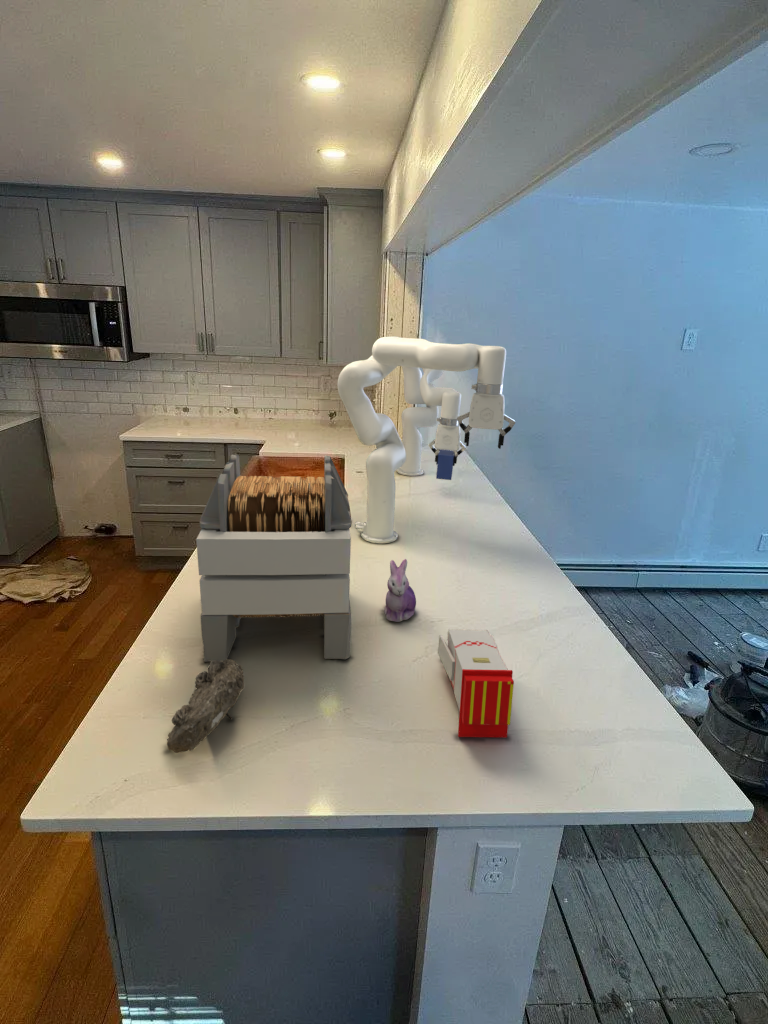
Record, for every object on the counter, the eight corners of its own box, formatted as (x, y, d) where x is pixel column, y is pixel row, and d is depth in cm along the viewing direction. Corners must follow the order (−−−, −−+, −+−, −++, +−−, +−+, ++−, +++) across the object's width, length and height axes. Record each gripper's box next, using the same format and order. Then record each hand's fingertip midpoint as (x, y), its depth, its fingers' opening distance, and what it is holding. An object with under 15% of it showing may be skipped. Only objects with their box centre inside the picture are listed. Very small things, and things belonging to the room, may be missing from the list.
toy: (488, 613, 130) (523, 677, 101) (484, 667, 133) (517, 744, 104) (435, 612, 130) (455, 676, 101) (432, 666, 133) (451, 743, 103)
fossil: (192, 660, 117) (244, 628, 112) (224, 691, 120) (276, 661, 115) (142, 746, 98) (202, 712, 93) (182, 779, 101) (242, 748, 96)
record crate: (225, 590, 155) (216, 445, 141) (344, 589, 159) (347, 447, 145) (201, 664, 123) (186, 485, 110) (351, 660, 127) (355, 487, 113)
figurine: (392, 627, 141) (395, 572, 136) (374, 608, 149) (376, 556, 144) (425, 619, 145) (429, 566, 140) (405, 601, 154) (408, 550, 149)
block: (436, 478, 235) (438, 454, 231) (437, 472, 243) (439, 449, 239) (451, 480, 234) (453, 456, 230) (452, 474, 242) (454, 450, 238)
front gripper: (459, 389, 164) (454, 447, 170) (520, 393, 162) (512, 451, 168) (459, 386, 171) (455, 441, 177) (518, 389, 169) (511, 445, 175)
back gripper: (427, 421, 228) (424, 464, 234) (470, 425, 226) (466, 468, 232) (429, 418, 235) (425, 460, 241) (471, 421, 233) (466, 463, 239)
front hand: (483, 446), depth 172 cm, fingers open, 9 cm apart
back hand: (445, 464), depth 237 cm, fingers closed on block, 6 cm apart
